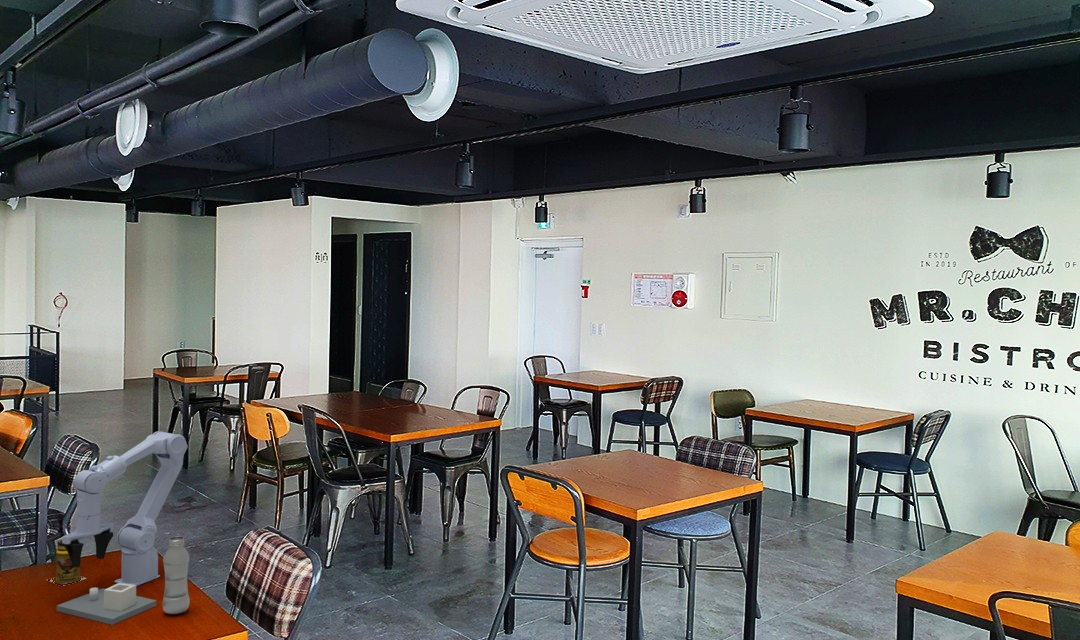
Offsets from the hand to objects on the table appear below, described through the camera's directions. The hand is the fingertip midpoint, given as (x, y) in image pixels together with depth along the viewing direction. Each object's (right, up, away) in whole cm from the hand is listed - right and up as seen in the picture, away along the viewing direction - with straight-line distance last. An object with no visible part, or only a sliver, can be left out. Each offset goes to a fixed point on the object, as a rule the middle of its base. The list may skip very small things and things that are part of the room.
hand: (88, 562), depth 228 cm
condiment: (-13, -9, +12) cm, 20 cm away
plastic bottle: (+28, -11, -9) cm, 32 cm away
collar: (+14, -9, -10) cm, 19 cm away
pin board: (+9, -10, -8) cm, 16 cm away
